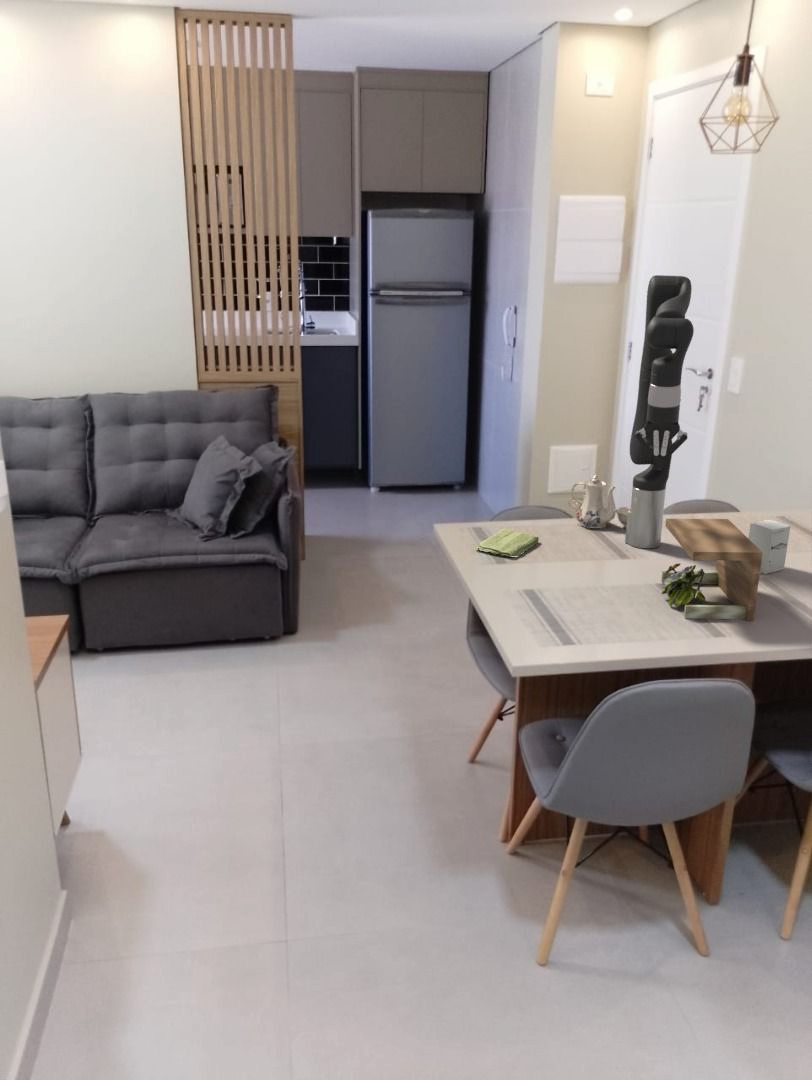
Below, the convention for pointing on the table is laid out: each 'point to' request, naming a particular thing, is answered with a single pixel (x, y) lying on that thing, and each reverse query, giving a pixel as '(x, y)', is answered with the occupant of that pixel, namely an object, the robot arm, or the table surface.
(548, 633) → the table surface
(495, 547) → the washcloth
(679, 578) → the passion flower
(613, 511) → the chinaware
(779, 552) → the supplement box
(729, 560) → the shelf
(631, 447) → the robot arm
